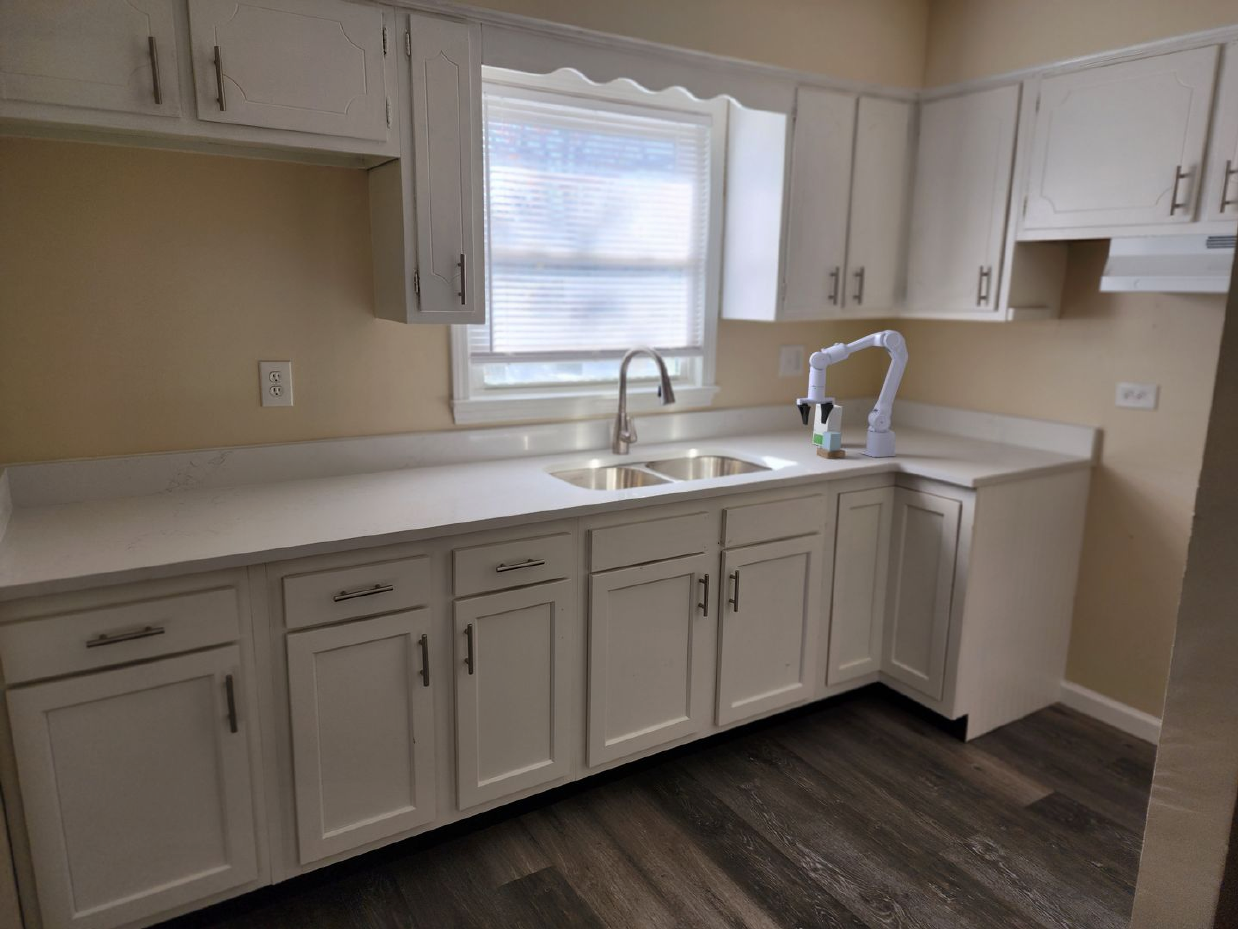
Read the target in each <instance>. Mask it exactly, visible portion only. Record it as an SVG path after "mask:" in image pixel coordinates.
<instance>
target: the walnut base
mask: <svg viewBox="0 0 1238 929" xmlns="http://www.w3.org/2000/svg"><path fill="white" fill-rule="evenodd" d="M816 456H817V457H820V458H823V459H826V460H837V459H845V458H846V450H844V449H841V448H840V450H838V451H828V450H825V449H822V447H817V448H816Z"/></svg>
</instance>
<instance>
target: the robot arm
mask: <svg viewBox="0 0 1238 929" xmlns="http://www.w3.org/2000/svg"><path fill="white" fill-rule="evenodd" d="M872 346H873V347H874V346H875V347H882V348H884V349H885V351H887V352H888V354H889V356H890V358H891V362H890V365H889V368H888V370H887V373H886V376H885V379H884V382H883V386H882V388H881V391H880V393H879V397H878V400H877V402H876V403H875V405H874V408H873V409H872V411H871V412H870V413H869V414H868V416H867V421H868V422H867V423H868V424H869V427H867V433H866V447H865V448H866V449H865V451H860V454H862V455H866V456H869V457H871V458H881V457H882V458H884V457H885V458H887V457H896V453H895V451H896V439H897V438H896V434H895V432H894V431H893V430H892V429H889V428H890V427H891V422H892V421H891V415H892V410H893V409H892V407H893V404H894V400H895V398H896V395H897V393H898V392H897V391H898V388H899V386H900V383H901V380H902V378H903V375H904V371H905V368H906V367H907V366H906V365H907V363H908V360H909V354H908V350H907V346H906V339H905V338H904V337H903V335H902V334H901V333H900V332H899V331H897V330H892V329H886V330H883V331H877V332H875V333H872V334H869V335H867V336H864V337H861V338H860V339H858V340H855V341H852V342H851V343H848V344H845V343H842V342H840V343H838V342H836V343H834V345H833V346H830V347H827V348H821V349H820V350H821V351H816V352H815V351H814V352H813V353H812V354H811V355H810V358H809V359H808V361H809V365H810V367H809V371H810V372H809V376H808V377H809V378H808V391H807V392H808V393H807V397H802V398H796V405H797V408H798V410H799V413H800V416H801V419H802V420H801V421H802V424H803V425H805V426H808V424H809V416H810V411H811V408H812V407H811V406H809V405H816V404H820V406H821V423H822V424H826V422H827V419H828V416H829V414H830V412H831V410H832V409H833V408H834V405H836V404H835V403H836V398H835V397H825V394H826V381H827V380H826V379H827V367H828V365H829V366H831V365H833V364H835V363H836V364H837V363H838V362H841V361H843V360H847V359H848V357H849V356H850V354H852V353H854V352H857V351H860V350H863V349H866V348H869V347H872ZM833 404H834V405H833Z"/></svg>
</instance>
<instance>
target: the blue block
mask: <svg viewBox="0 0 1238 929" xmlns="http://www.w3.org/2000/svg"><path fill="white" fill-rule="evenodd" d="M842 434H843V433H841V432H840V433H838V432H835V431H828V432H823V440H822V447H821V448H822V449H825V450H828V451H838V450H840V449H841V448H842V447H841V445H842Z"/></svg>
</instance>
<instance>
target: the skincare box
mask: <svg viewBox="0 0 1238 929" xmlns="http://www.w3.org/2000/svg"><path fill="white" fill-rule="evenodd" d="M833 405H834V408H833V409H832V410H831V412H830V414H829V416H828V419H827V422H826V424H822V423H821V406H820V404H815V414H814V422H813V423H814V424H813V435H812V445H816V446H819V447H820V448H822V440H823V432H828V431H835V432H838V433H841V425H842V415H843V408H844V407H843V406H840V405H837V404H833Z"/></svg>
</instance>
